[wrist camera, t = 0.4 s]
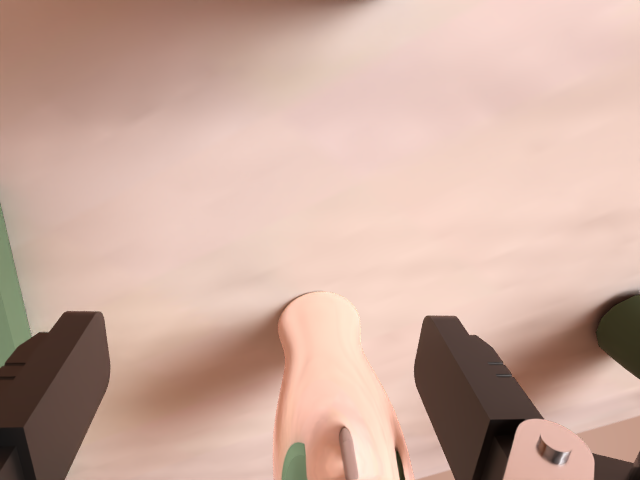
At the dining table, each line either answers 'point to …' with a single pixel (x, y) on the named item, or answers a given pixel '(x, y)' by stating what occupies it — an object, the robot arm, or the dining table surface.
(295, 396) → the beer glass
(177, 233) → the dining table surface
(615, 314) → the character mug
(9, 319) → the putting mat
